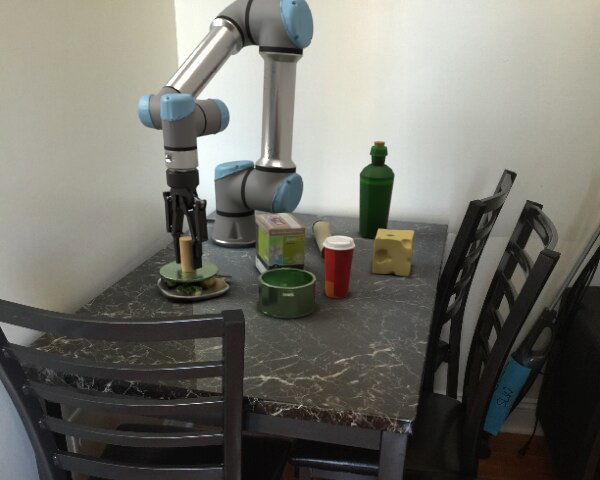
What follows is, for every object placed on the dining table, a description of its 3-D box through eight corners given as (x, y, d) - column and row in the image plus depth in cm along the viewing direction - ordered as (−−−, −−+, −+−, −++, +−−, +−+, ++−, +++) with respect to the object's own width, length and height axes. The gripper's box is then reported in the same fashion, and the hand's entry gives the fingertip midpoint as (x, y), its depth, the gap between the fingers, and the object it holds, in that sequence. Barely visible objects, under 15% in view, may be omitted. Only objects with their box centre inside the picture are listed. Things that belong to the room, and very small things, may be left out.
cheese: (409, 277, 175) (413, 241, 170) (369, 273, 177) (372, 237, 172) (411, 264, 184) (415, 229, 179) (373, 261, 186) (376, 226, 180)
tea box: (305, 282, 170) (306, 226, 163) (268, 285, 168) (267, 229, 160) (289, 263, 183) (290, 210, 175) (254, 266, 180) (253, 213, 172)
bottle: (394, 233, 209) (403, 141, 195) (380, 242, 201) (388, 146, 187) (365, 228, 214) (371, 137, 199) (349, 236, 206) (355, 142, 192)
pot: (258, 323, 148) (258, 292, 144) (259, 292, 164) (258, 264, 160) (317, 323, 148) (318, 292, 144) (312, 292, 164) (313, 264, 160)
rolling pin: (310, 232, 209) (311, 216, 206) (328, 232, 209) (328, 216, 207) (321, 266, 181) (321, 248, 179) (340, 266, 182) (341, 248, 179)
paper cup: (355, 291, 166) (358, 237, 159) (347, 301, 160) (350, 246, 152) (326, 286, 168) (328, 233, 161) (317, 297, 162) (318, 242, 154)
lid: (156, 284, 156) (152, 247, 151) (164, 264, 168) (160, 229, 163) (216, 284, 156) (214, 247, 152) (220, 264, 169) (218, 229, 164)
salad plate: (222, 272, 176) (221, 255, 173) (245, 295, 162) (245, 277, 160) (151, 282, 169) (149, 264, 166) (169, 306, 155) (168, 288, 152)
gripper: (144, 164, 152) (154, 260, 164) (195, 177, 142) (201, 278, 153) (170, 160, 157) (177, 253, 169) (221, 172, 146) (225, 271, 158)
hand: (189, 265), depth 161 cm, fingers open, 5 cm apart
